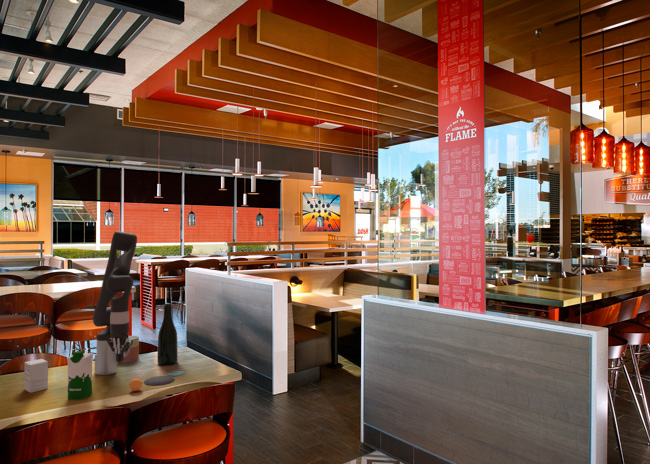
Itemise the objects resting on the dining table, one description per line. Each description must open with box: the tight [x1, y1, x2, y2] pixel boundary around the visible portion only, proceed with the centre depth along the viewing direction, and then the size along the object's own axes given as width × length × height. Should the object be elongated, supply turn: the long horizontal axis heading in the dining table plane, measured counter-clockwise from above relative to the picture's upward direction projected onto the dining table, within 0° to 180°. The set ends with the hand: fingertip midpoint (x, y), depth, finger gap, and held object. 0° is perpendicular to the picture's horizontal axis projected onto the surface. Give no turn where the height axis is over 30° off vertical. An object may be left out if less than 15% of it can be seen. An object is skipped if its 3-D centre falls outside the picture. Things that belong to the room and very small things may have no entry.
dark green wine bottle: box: [157, 302, 179, 366], centre depth 248 cm, size 10×10×33 cm
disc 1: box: [143, 375, 176, 387], centre depth 219 cm, size 14×14×1 cm
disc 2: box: [167, 370, 185, 377], centre depth 230 cm, size 8×8×1 cm
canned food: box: [121, 335, 140, 363], centre depth 256 cm, size 11×11×12 cm
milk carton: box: [66, 350, 94, 400], centre depth 197 cm, size 9×9×20 cm
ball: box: [128, 377, 143, 392], centre depth 205 cm, size 6×6×6 cm
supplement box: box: [24, 358, 49, 394], centre depth 207 cm, size 7×7×13 cm
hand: (119, 361), depth 196 cm, fingers closed
